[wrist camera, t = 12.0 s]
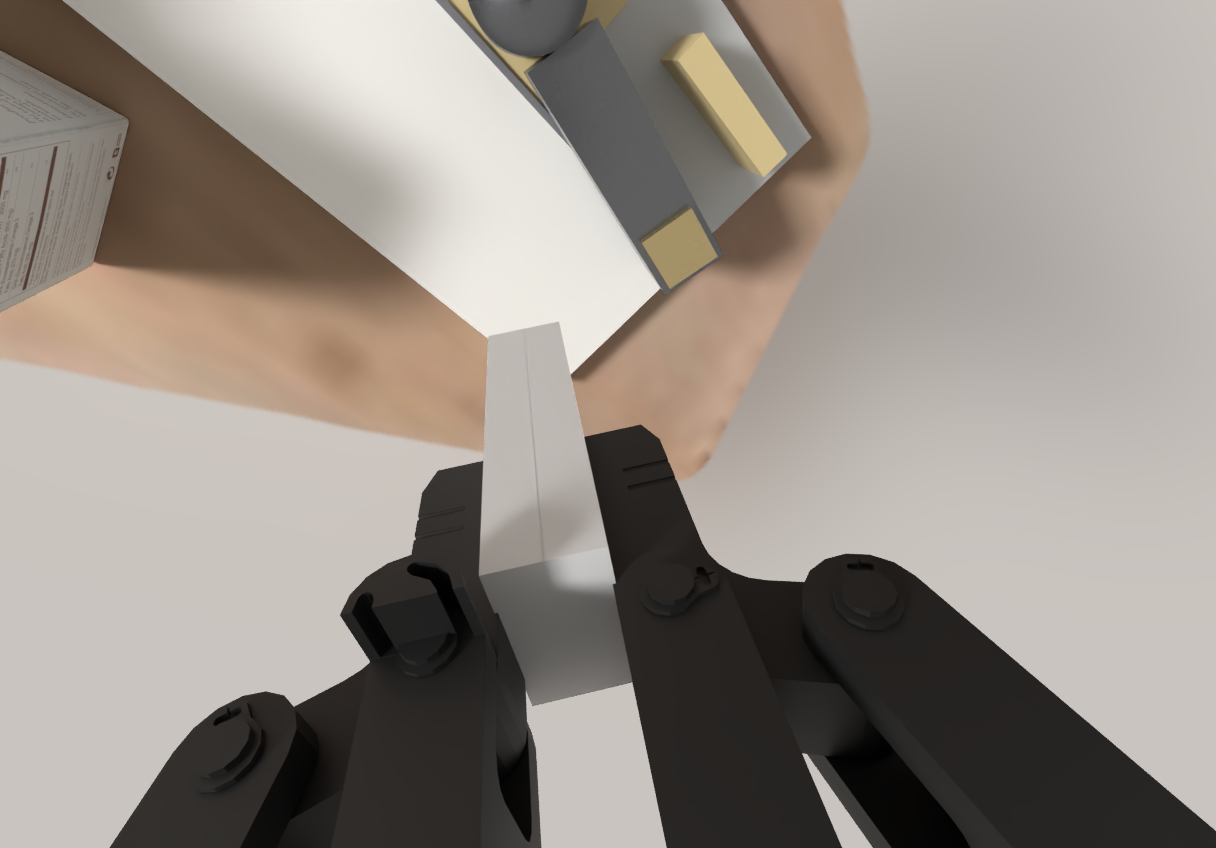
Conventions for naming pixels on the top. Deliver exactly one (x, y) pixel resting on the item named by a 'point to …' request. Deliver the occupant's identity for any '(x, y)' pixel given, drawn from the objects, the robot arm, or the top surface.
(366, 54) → the door board
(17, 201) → the supplement box
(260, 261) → the top surface
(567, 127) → the arm
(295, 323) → the top surface
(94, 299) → the top surface
